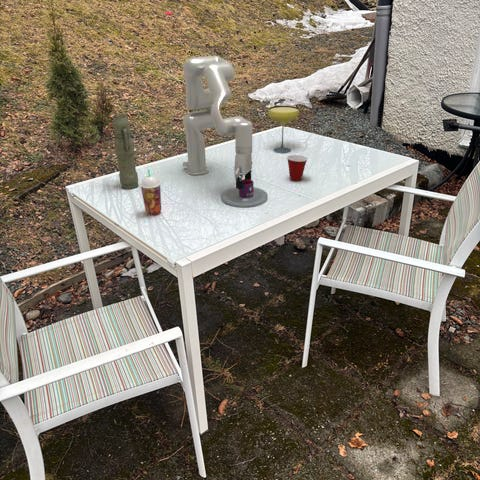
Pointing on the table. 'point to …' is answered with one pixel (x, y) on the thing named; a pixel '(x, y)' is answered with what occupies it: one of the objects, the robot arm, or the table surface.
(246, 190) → the cup
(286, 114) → the cocktail glass
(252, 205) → the dish
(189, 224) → the table surface
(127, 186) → the green moai statue
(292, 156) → the plastic cup
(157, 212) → the smoothie
